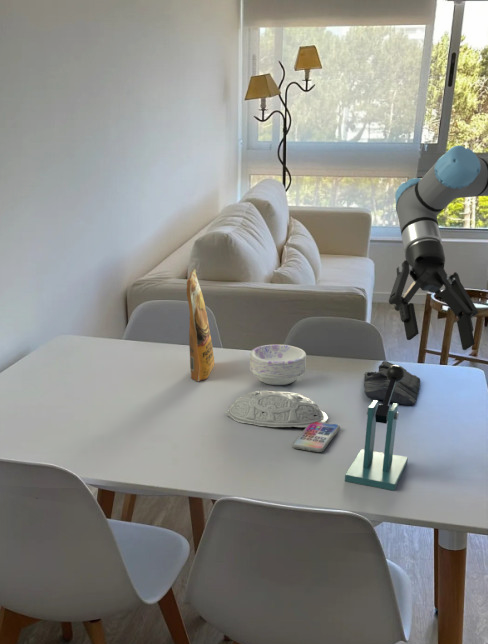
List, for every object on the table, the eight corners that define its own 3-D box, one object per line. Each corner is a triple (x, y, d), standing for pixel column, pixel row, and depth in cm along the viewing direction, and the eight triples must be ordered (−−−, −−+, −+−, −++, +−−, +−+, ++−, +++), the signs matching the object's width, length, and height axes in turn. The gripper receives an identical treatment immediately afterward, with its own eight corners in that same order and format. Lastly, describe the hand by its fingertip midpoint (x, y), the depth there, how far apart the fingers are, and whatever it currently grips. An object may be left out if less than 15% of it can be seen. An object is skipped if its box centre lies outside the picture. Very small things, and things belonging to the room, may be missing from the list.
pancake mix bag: (181, 383, 192) (178, 279, 180) (195, 361, 209) (193, 265, 197) (205, 384, 191) (203, 280, 179) (217, 362, 208) (216, 266, 196)
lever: (388, 372, 148) (388, 360, 145) (406, 374, 147) (406, 362, 144) (372, 423, 141) (371, 411, 138) (390, 426, 139) (389, 414, 137)
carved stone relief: (321, 430, 161) (321, 402, 159) (217, 424, 168) (216, 396, 166) (332, 412, 175) (333, 386, 173) (236, 407, 182) (236, 382, 180)
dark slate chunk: (354, 401, 180) (356, 384, 178) (365, 374, 199) (367, 357, 197) (416, 408, 176) (418, 390, 174) (421, 379, 195) (423, 363, 193)
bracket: (360, 455, 152) (366, 390, 146) (407, 463, 149) (415, 398, 142) (344, 481, 141) (350, 413, 135) (394, 490, 138) (402, 421, 132)
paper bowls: (275, 393, 185) (276, 364, 182) (238, 378, 196) (238, 350, 192) (316, 381, 194) (318, 353, 190) (279, 367, 204) (280, 340, 201)
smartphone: (290, 444, 155) (311, 419, 167) (290, 448, 155) (311, 423, 167) (322, 449, 152) (341, 424, 164) (322, 453, 152) (341, 428, 165)
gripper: (459, 271, 152) (477, 359, 144) (361, 248, 142) (376, 341, 134) (483, 251, 145) (504, 341, 138) (383, 225, 135) (400, 322, 128)
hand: (441, 342), depth 136 cm, fingers open, 13 cm apart
